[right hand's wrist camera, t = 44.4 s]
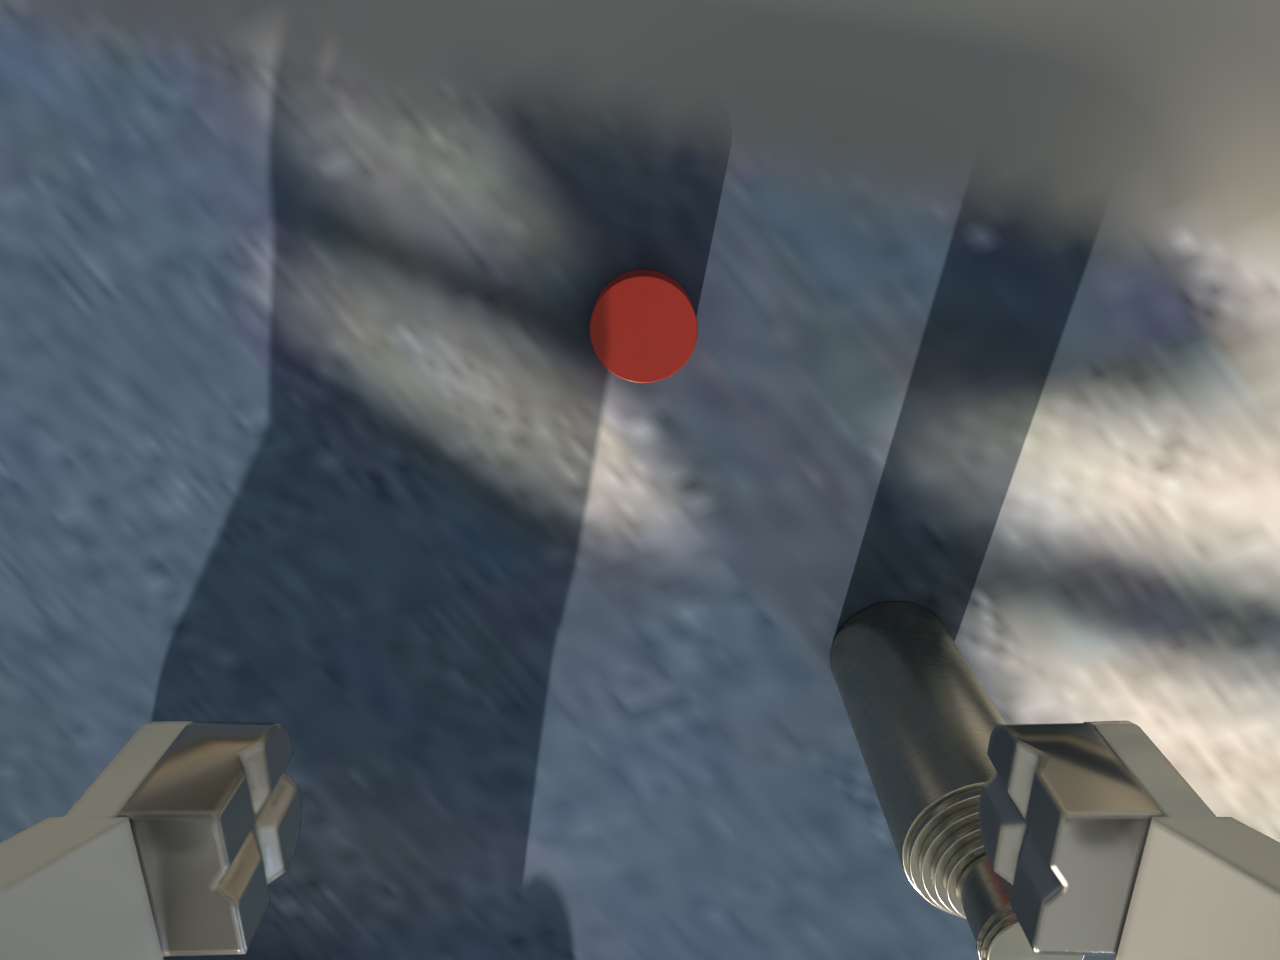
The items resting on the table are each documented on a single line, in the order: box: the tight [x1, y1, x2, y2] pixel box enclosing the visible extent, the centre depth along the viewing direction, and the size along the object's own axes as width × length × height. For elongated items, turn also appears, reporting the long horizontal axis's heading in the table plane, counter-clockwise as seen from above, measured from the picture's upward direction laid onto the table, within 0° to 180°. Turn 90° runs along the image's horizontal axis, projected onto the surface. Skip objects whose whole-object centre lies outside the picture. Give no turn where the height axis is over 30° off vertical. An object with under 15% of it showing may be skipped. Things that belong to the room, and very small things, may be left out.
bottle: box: [830, 602, 1085, 960], centre depth 34 cm, size 6×6×16 cm
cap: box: [590, 269, 698, 383], centre depth 35 cm, size 4×4×2 cm
